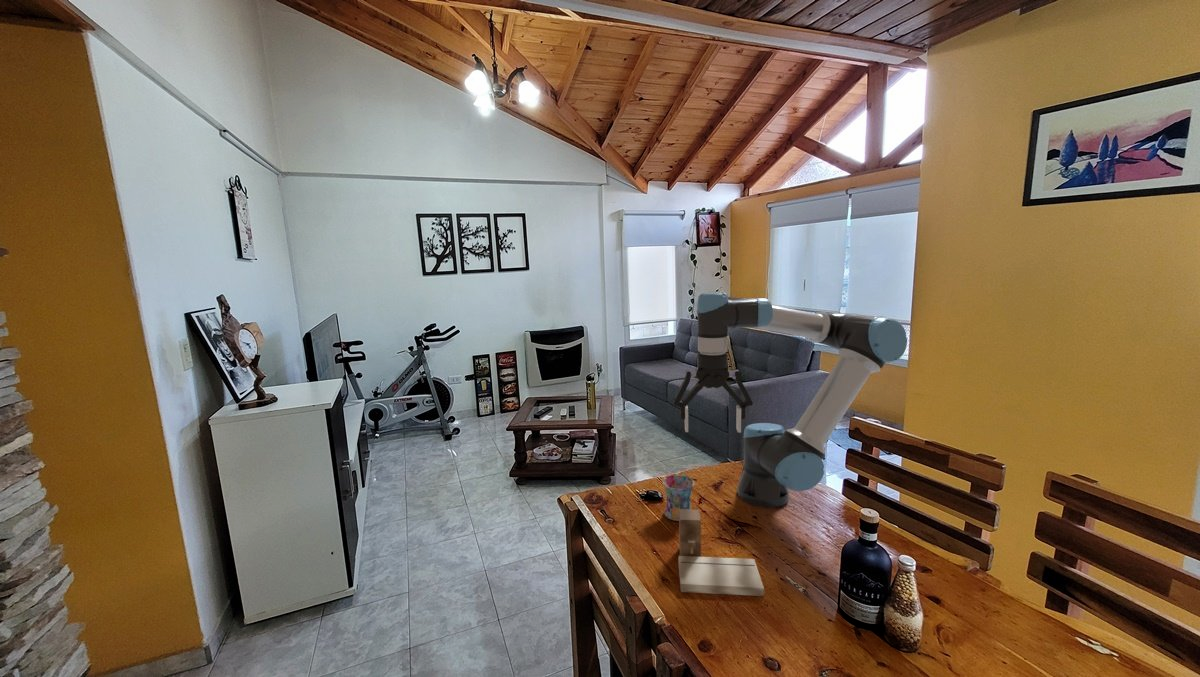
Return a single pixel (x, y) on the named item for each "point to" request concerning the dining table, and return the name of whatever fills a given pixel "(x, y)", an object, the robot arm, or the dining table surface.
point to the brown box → (689, 532)
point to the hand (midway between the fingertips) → (712, 430)
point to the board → (719, 576)
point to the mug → (677, 494)
